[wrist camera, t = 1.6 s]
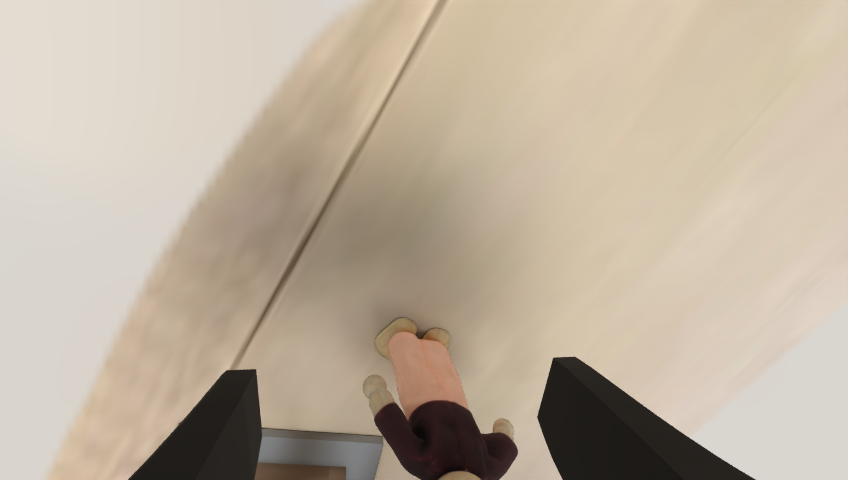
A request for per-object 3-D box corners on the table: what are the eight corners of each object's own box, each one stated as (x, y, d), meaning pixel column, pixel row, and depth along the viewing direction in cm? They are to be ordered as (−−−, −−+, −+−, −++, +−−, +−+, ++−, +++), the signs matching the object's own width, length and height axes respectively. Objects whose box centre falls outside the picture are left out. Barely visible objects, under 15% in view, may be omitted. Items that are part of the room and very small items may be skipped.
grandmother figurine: (351, 363, 23) (342, 630, 12) (366, 306, 22) (371, 536, 10) (472, 379, 25) (571, 627, 13) (490, 327, 24) (616, 545, 12)
